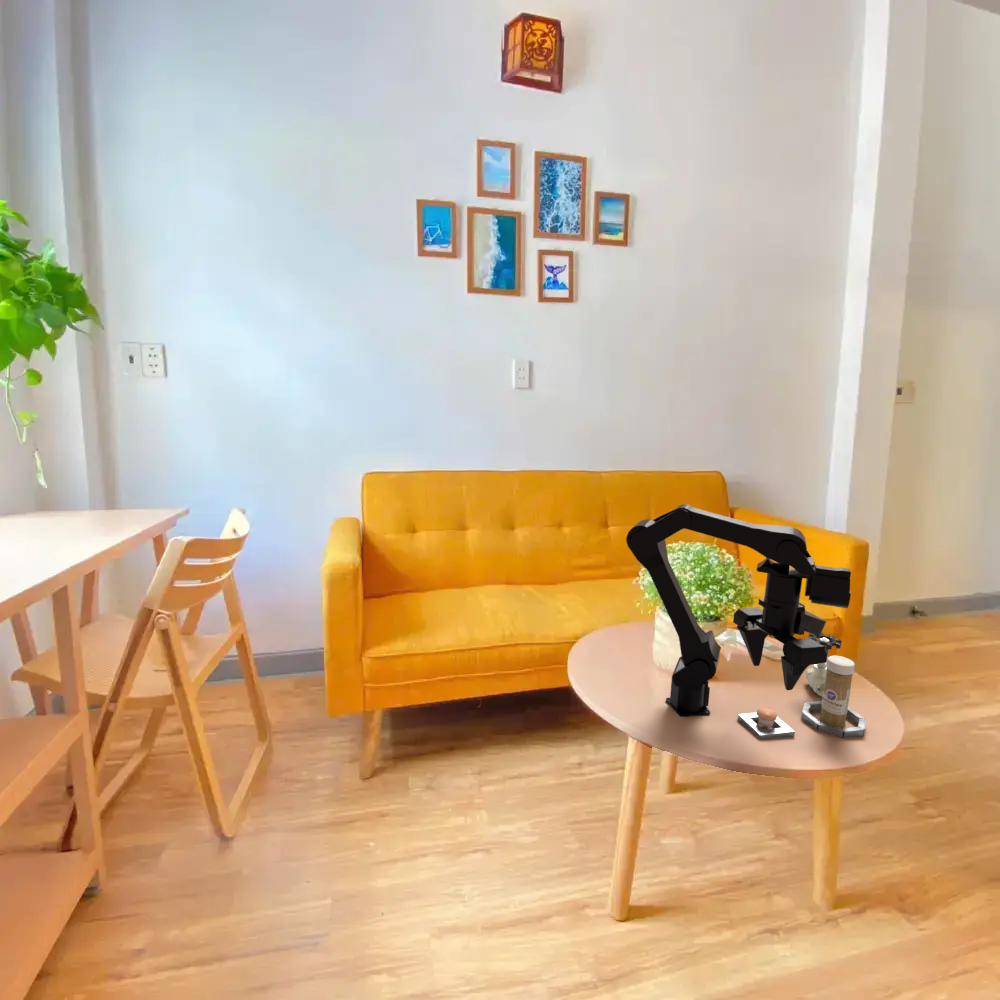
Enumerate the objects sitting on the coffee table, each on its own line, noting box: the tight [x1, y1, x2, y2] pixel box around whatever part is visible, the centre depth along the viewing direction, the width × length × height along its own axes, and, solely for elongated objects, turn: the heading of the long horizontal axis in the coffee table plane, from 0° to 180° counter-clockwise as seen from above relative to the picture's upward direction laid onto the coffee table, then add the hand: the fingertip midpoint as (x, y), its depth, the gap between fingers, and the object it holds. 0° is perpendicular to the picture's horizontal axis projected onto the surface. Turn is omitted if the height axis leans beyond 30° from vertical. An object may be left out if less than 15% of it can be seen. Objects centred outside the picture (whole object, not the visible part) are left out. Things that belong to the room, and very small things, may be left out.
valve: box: [805, 632, 843, 698], centre depth 127 cm, size 7×7×12 cm
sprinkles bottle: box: [818, 655, 856, 729], centre depth 114 cm, size 5×5×14 cm
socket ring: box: [800, 700, 866, 739], centre depth 115 cm, size 10×10×2 cm
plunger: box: [756, 707, 778, 729], centre depth 112 cm, size 3×3×2 cm
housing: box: [737, 711, 796, 740], centre depth 112 cm, size 7×7×2 cm
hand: (771, 677), depth 111 cm, fingers open, 9 cm apart
